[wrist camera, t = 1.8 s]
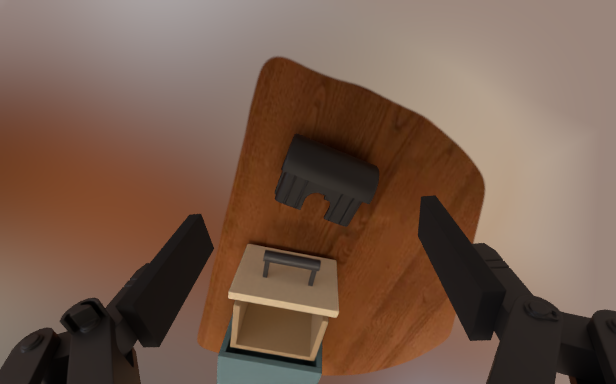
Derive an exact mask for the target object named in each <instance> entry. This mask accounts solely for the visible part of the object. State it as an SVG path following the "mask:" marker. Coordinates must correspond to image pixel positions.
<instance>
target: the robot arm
mask: <svg viewBox="0 0 616 384" xmlns="http://www.w3.org/2000/svg"><path fill="white" fill-rule="evenodd" d="M418 237H419V239H420V241H421V243H422V245H423V247H424V249H425V251H426V253H427V255H428V257H429V259H430V261H431V263H432V265H433V267H434V269H435V271H436V273H437V275H438V277H439V279H440V281H441V283H442V285H443V287H444V289H445V291H446V293H447V295H448V297H449V299H450V301H451V304H452V306H453V308H454V310H455V312H456V314H457V316H458V318H459V320H460V322H461V324H462V326H463V327H464V330H465V332H466V334H467V335H468V338H469V340H470V341H477V340H491V338H492V335H493V332H494V331H495V333H496V335H497V336H498V338H499V340H500V343H499V346H498V348H497V351H496V355H495V358H494V361H493V364H492V367H491V370H490V373H489V376H488V379H487V382H486V384H555V378H556V372H558V373H561V374H565V375H568V376H569V379H570V383H571V384H616V311H611V310H599V311H597V312H595V313H594V314H593V316H592V318H587V317H583V316H578V315H573V314H568V313H564V312H561V311H559V310H558V308H556V307H555V306H554V305H553V304H551V303H550V302H548V301H546V300H544V299H542V298H540V297H536V296H533V294H532V293H531V292H530V291H529V290H528V288H527V287H526V286H525V285H524V284H523V283H522V281H521V280H520V279H519V278H518V277H517V276H516V274H515V273H514V272H513V271H512V270H511V269H510V268H509V266H508V265H507V264H506V263H505V261H503V259H502V258H501V256H500V255H499V254H498V253H497V252H496V251H495V250H494V249H492V248H491V247H489V246H488V245H486V244H485V243H478V244H471V242H470V241H469V240H468V238H467V237H466V236H465V234H464V233H463V232H462V230H461V229H460V228H459V226H458V225H457V224H456V222H455V221H454V220H453V218H452V217H451V216H450V214H449V213H448V212H447V210H446V209H445V208H444V206H443V205H442V204H441V202H440V201H439V200H438V198H437V197H436V196H423V197H421V205H420V217H419V228H418ZM213 249H214V247H213V244H212V242H211V239H210V236H209V234H208V231H207V228H206V226H205V223H204V220H203V218H202V215H201V214H193V215H189V216H188V217H187V219H186V220H185V221H184V222H183V223H182V224H181V226H180V227H179V228H178V229H177V231H176V232H175V233H174V234H173V235H172V237H171V238H170V239H169V240H168V242H167V243H166V244H165V245H164V247H163V248H162V249H161V251H160V252H159V253H158V254H157V255H156V256H155V258H154V259H153V260H152V261H151V262H150V263H146V264H145V265H144V266H142V267H141V268H140V269H139V270H137V271H136V272H135V274H134V275H133V276H132V277H131V278H130V281H128V282H127V283H126V284H125V286H124V287H123V288H122V289H121V290H120V292H118V294H117V295H116V296H115V297H114V298H113V300H112V301H111V302H110V303H109V304H108V305H107V307H106V308H104V306H103V305H102V304H101V302H100V301H99V299H97V298H88V299H86V300H83V301H80V302H79V303H77V304H75V305H74V306H72V307H71V308H70V309H69V310H67V311H66V312H65V313H64V315H63V316H62V318H61V320H60V322H61V324H62V325H63V326H64V327H65V328H66V329H67V332H64V333H60V334H56V333H55V332H54V331H53V329H52V328H43V329H39V330H38V331H35V332H33V333H31V334H30V335H28V336H26V337H25V338H24V339H22V340H21V341H20V342H19V343H18V344H17V345H16V346H15V347H14V349H13V350H12V351H11V353H10V354H9V356H8V358H7V359H6V361H5V363H4V364H3V366H2V367H1V369H0V384H141V382H140V376H139V369H138V363H137V356H136V351H135V350H134V348H133V346H134V344H135V343H136V341H137V340H139V342H140V343H141V345H142V346H143V347H160V345H161V343H162V341H163V339H164V338H165V336H166V334H167V332H168V330H169V329H170V327H171V325H172V323H173V321H174V320H175V318H176V316H177V314H178V312H179V311H180V309H181V307H182V305H183V303H184V302H185V300H186V298H187V296H188V294H189V292H190V291H191V289H192V287H193V285H194V284H195V282H196V280H197V278H198V276H199V275H200V273H201V271H202V269H203V267H204V265H205V264H206V262H207V260H208V258H209V257H210V255H211V253H212V251H213Z"/></svg>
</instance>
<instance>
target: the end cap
mask: <svg viewBox="0 0 616 384" xmlns="http://www.w3.org/2000/svg"><path fill="white" fill-rule="evenodd" d="M282 170H283V171H282V173H281V176H280V179H279V181H278V185H277V187H276V190H275V195H276V196H275V200H276V201H278V202H280V203H283V204H285V205H288V206H291V207H293V208H296V209H299V210H300V209H301V207H302V204H303V202H304V200H305V198H306V197H307V196H308V195H310V194H312V193H320V194H323V195H325V197H324V199H325V200H327V201H330V206H329V208H328V210H327V212H326V214H325V215H324V219H326V220H328V221H331V222H334V223H336V224H339V225H342V226H345V227H347V226H348V225H349V223H350V221H351V220H352V218H353V216H354V215H355V213H356V211H357V210H358V208H359V206H360V205H361V203H362V202H364V203H367V204H370V202H371V201H372V199H373V197H374V194H375V192H376V189H377V186H378V181H379V169H378V168H377V166H375V165H373V164H370V163H368V162H365V161H363V160H361V159H358V158H356V157H353V156H351V155H348V154H346V153H344V152H341V151H339V150H336V149H334V148H331V147H329V146H327V145H324V144H322V143H319V142H317V141H314V140H312V139H310V138H307V137H305V136H302V135H300V134H297V133H296V134H295V135H294V137H293V139H292V142H291V144H290V147H289V149H288V152H287V155H286V158H285V160H284V163H283V166H282Z"/></svg>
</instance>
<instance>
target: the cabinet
mask: <svg viewBox="0 0 616 384" xmlns="http://www.w3.org/2000/svg"><path fill="white" fill-rule="evenodd" d="M232 320H233V315H232V317H231V320H230V323H229V326H228V329H227V332H226V335H225V338H224V340H223V343H222V346H221V349H220V352H219V355H218V368H217V369H218V370H217V384H318V381H319V379H320V377H321V374H322V341H321V344H320V346H319V349H318V352H317V355H316V357H315V360H314V361H310V360H304V359H298V358H292V357H286V356H281V355H275V354H269V353H263V352H257V351H252V350H246V349H240V348H234V347H230V343H231V332H232Z"/></svg>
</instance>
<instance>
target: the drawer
mask: <svg viewBox="0 0 616 384" xmlns="http://www.w3.org/2000/svg"><path fill="white" fill-rule="evenodd" d="M228 298H229V299H235V303H234V309H233V320H232V332H231V343H230V347H234V348H240V349H246V350H252V351H257V352H263V353H269V354H275V355H281V356H286V357H292V358H298V359H304V360H310V361H314V360H315V357H316V355H317V352H318V349H319V346H320V344H321V341H322V338H323V336H324V333H325V330H326V327H327V325H328V316H329V317H335V318H337V315H338V313H339V303H338V283H337V263H336V260H332V259H326V258H321V257H316V256H310V255H305V254H300V253H295V252H289V251H284V250H279V249H274V248H268V247H263V246H258V245H252V244H247V247H246V249H245V252H244V254H243V257H242V259H241V262H240V264H239V267H238V269H237V272H236V274H235V277H234V280H233V282H232V285H231V287H230V290H229V294H228Z"/></svg>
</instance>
